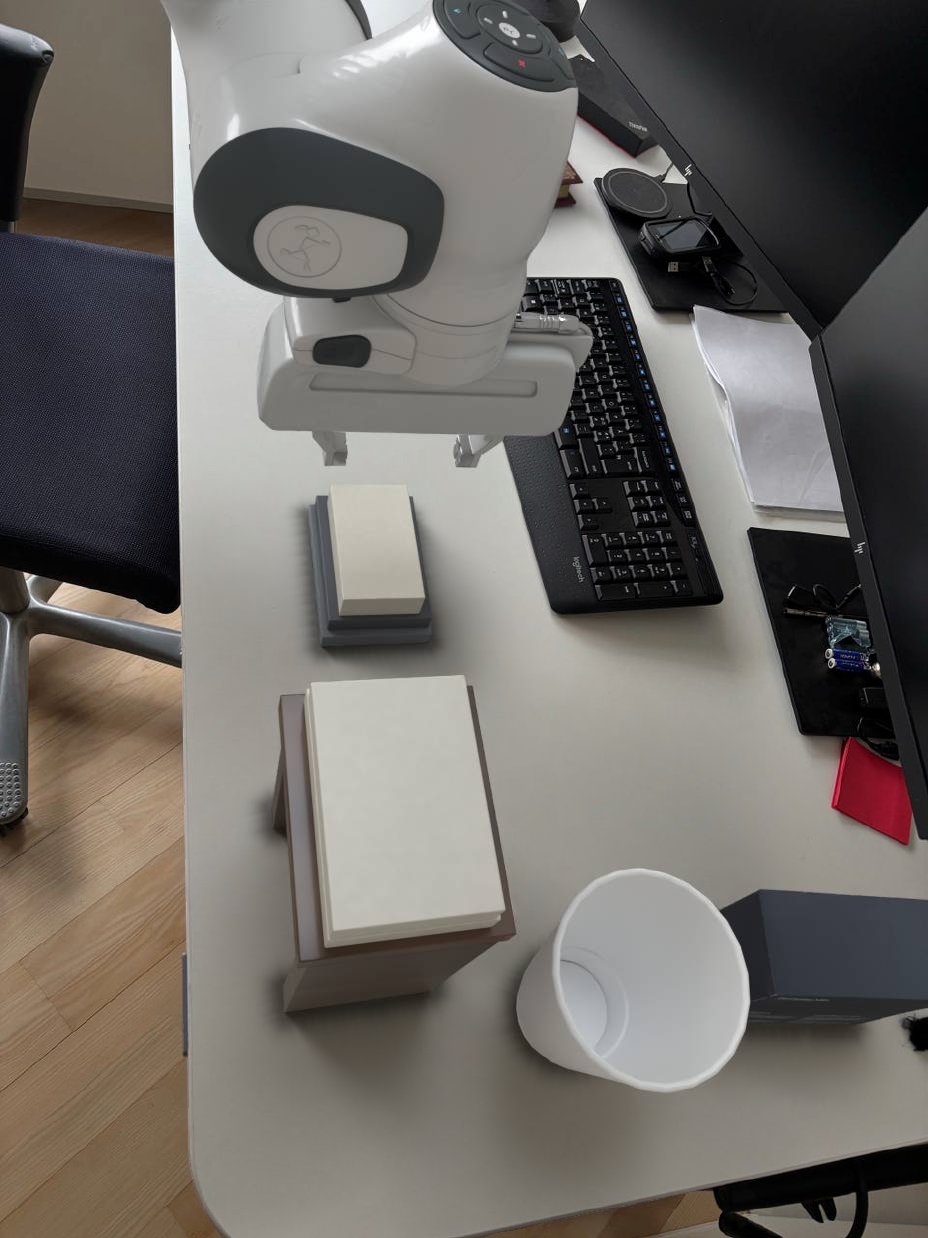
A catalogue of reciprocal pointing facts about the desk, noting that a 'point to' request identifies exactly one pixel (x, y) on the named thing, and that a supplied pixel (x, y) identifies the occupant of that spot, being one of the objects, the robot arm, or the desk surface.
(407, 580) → the ivory book
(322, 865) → the white books
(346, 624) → the grey books
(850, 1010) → the small box
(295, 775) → the walnut shelf
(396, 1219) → the desk surface
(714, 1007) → the cup
